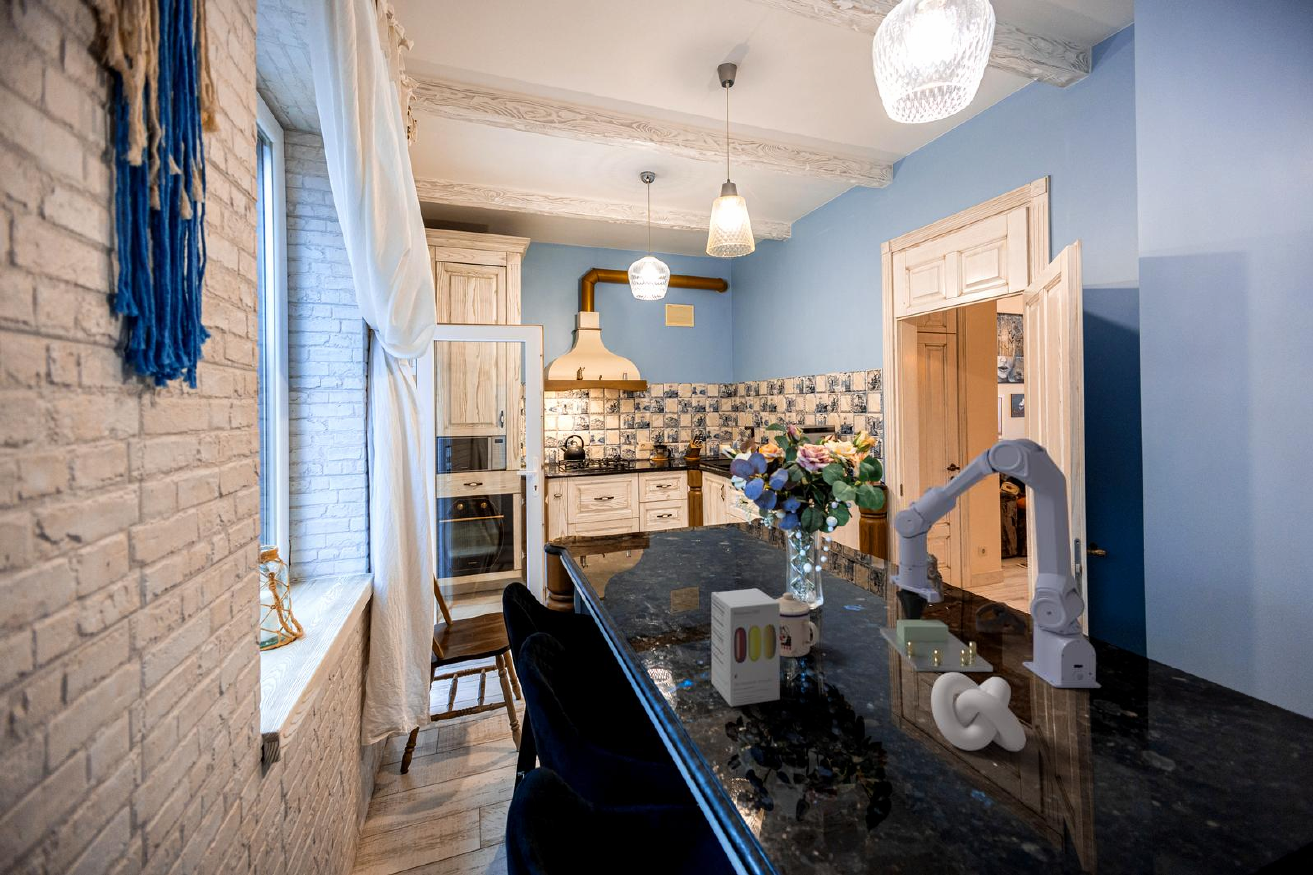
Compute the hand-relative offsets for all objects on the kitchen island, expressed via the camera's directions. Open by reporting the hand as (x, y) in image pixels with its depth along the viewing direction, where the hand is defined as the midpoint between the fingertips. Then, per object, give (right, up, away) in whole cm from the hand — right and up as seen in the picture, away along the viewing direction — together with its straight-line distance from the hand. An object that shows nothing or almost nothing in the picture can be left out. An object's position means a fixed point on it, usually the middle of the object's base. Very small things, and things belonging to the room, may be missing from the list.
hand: (912, 624), depth 123 cm
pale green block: (0, -1, -5) cm, 5 cm away
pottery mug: (+19, -2, -2) cm, 19 cm away
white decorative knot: (-9, -4, -40) cm, 41 cm away
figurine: (+15, -1, +24) cm, 28 cm away
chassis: (0, -2, -9) cm, 9 cm away
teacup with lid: (-28, -3, -8) cm, 30 cm away
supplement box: (-41, -4, -25) cm, 48 cm away
